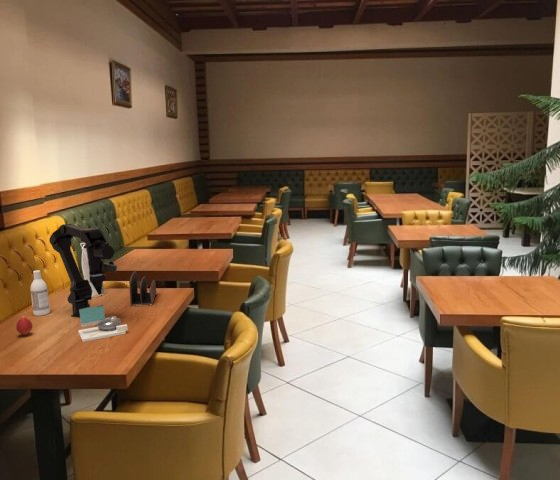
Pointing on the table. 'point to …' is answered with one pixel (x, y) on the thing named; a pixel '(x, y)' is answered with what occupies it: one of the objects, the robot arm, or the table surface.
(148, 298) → the letter holder
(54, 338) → the table surface
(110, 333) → the plate
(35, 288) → the bath foam
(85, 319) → the cam foot
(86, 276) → the skyscraper
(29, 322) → the onion
